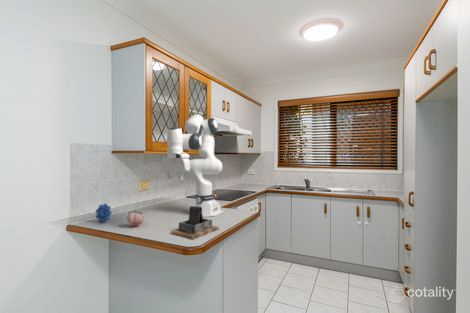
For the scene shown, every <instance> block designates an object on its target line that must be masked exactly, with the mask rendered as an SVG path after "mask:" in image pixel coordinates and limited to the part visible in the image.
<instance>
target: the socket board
mask: <svg viewBox="0 0 470 313" xmlns="http://www.w3.org/2000/svg"><path fill="white" fill-rule="evenodd" d="M188 220H189V219H187V220H184V221H180V222H179V223H178V228H176V229H173V230H171V234H172V235H175V236H178V237H181V238H184V239H185V238H186V239H189V240H193V241H194V240H195V239H198V238H201V237H204V236H206V235H208V233H209V234H211V233H214V232H216V231H218V230H220V229H219V228H220V227H219V226H216V225H212V224H213V220H212V219H207V218H203V223H200V224H197V225H190V224H188ZM203 235H204V236H203Z"/></svg>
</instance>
